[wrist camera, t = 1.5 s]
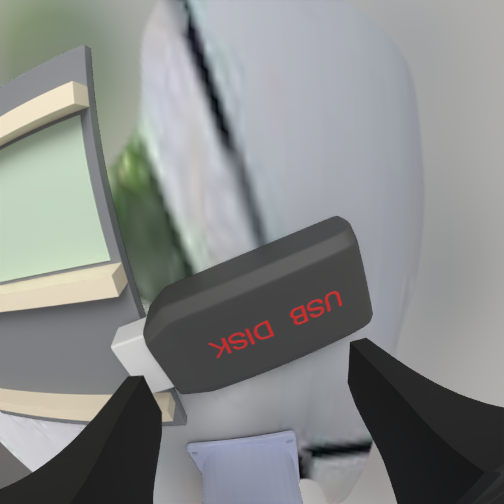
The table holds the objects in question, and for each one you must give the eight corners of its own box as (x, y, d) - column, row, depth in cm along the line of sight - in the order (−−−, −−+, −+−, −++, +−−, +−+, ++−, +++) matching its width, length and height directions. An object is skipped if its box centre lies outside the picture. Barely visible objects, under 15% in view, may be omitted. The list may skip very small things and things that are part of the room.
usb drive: (359, 302, 16) (384, 327, 13) (159, 382, 16) (156, 418, 13) (337, 214, 14) (365, 228, 12) (109, 309, 14) (94, 340, 11)
